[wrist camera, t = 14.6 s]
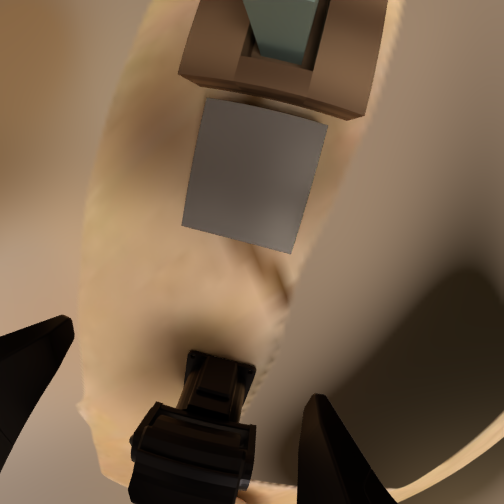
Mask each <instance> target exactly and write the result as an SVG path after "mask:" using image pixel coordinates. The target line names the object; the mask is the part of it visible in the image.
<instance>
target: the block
mask: <svg viewBox="0 0 504 504" xmlns="http://www.w3.org/2000/svg"><path fill="white" fill-rule="evenodd" d="M318 2H319V0H243V3H244V6H245V9H246V11H247V14H248V17H249V20H250V23H251V26H252V29H253V32H254V35H255V38H256V41H257V45H258V48H259V51H260V54H261V56H263V57H268V58H272V59H277V60H281V61H285V62H290V63H294V64H297V65H301V64H302V61H303V57H304V53H305V50H306V46H307V42H308V39H309V35H310V31H311V28H312V24H313V21H314V17H315V13H316V10H317V6H318Z"/></svg>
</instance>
